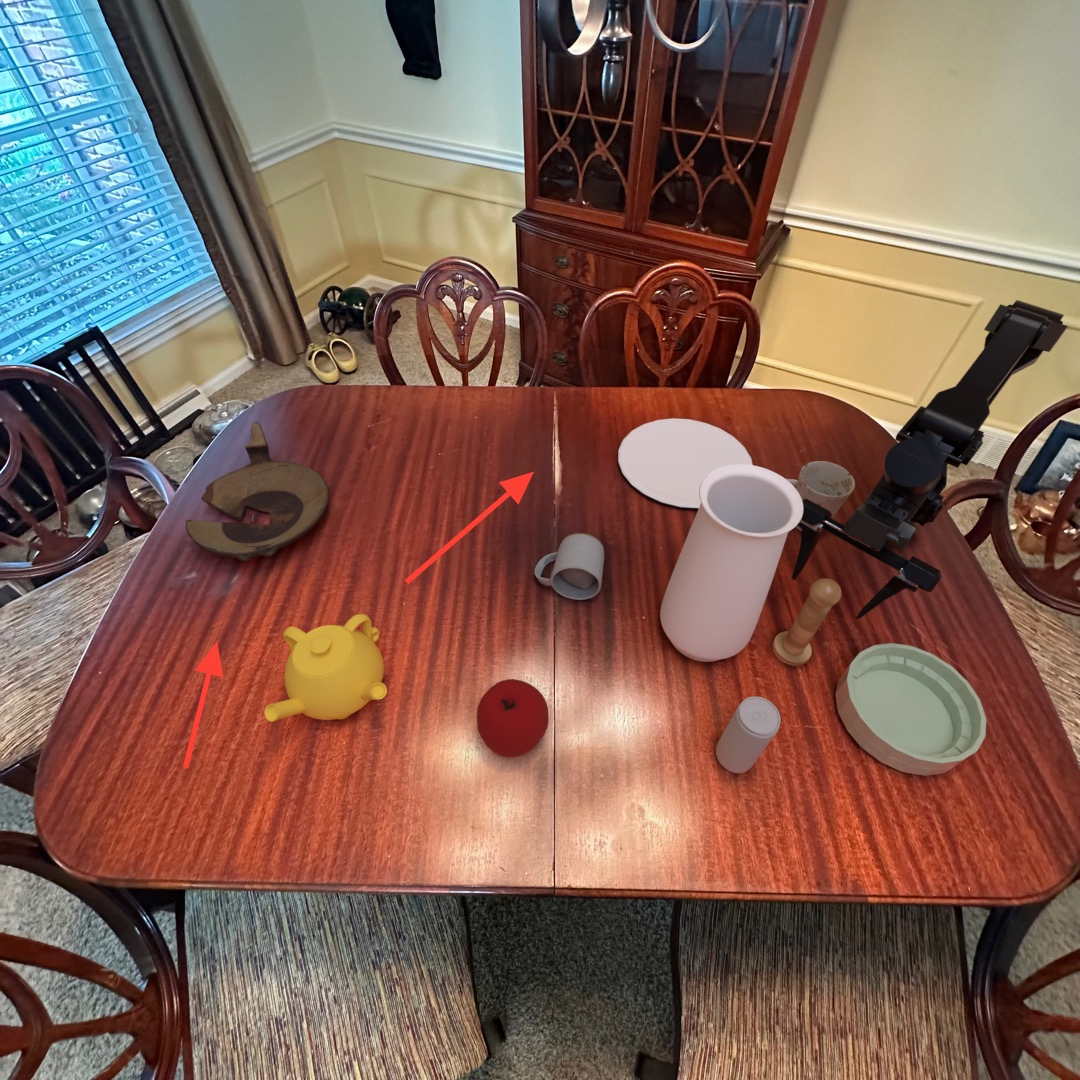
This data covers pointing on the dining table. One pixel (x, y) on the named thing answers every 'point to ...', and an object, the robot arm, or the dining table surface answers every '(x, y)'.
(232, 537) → the oil lamp
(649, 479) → the plate
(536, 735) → the apple
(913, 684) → the bowl
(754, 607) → the vase
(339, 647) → the teapot
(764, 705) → the beverage can
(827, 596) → the wooden pestle
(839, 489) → the mug
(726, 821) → the dining table surface
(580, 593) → the ceramic mug
